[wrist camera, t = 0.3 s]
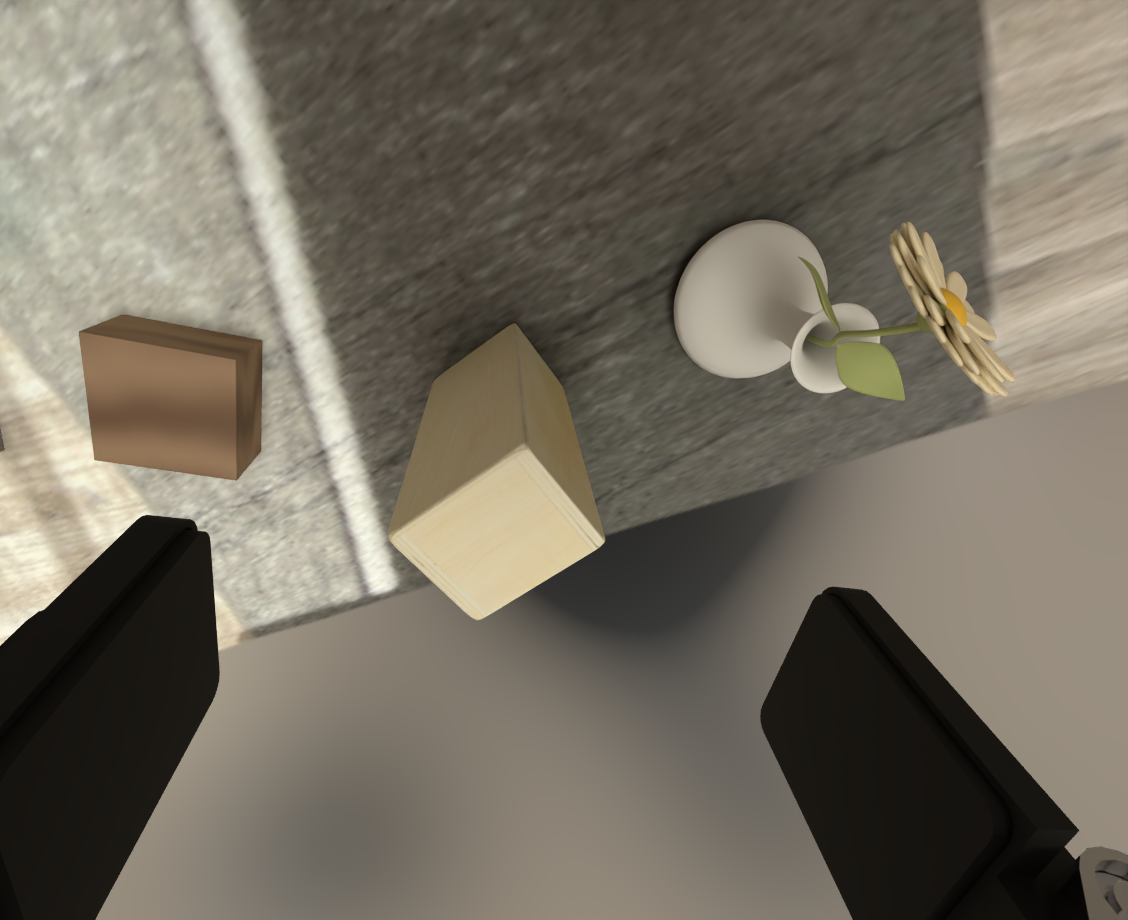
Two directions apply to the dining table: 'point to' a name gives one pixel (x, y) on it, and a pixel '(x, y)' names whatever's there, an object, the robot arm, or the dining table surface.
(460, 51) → the dining table surface
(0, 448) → the grey cube
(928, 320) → the flower in vase
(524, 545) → the tall cream block
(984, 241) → the dining table surface
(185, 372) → the walnut block
